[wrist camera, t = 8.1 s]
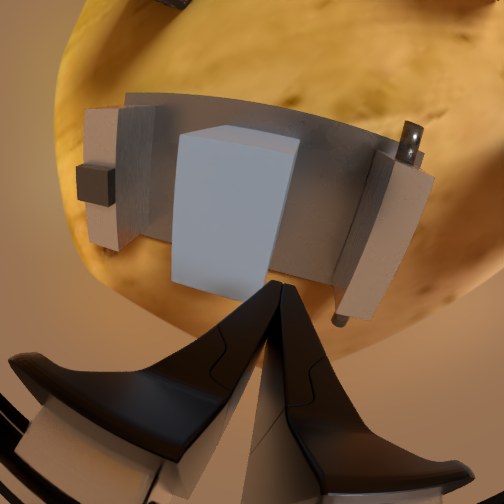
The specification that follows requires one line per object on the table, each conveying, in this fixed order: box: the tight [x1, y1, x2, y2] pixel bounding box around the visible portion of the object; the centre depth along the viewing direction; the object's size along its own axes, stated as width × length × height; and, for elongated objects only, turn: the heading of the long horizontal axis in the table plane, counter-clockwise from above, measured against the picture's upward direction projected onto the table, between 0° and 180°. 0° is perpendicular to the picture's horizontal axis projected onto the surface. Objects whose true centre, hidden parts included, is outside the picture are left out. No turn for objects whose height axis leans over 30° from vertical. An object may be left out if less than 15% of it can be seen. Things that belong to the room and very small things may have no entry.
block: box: [171, 125, 300, 302], centre depth 16 cm, size 5×8×7 cm, turn 170°
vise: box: [76, 93, 424, 286], centre depth 17 cm, size 22×12×6 cm, turn 80°
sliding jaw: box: [331, 120, 435, 327], centre depth 16 cm, size 2×15×4 cm, turn 170°
